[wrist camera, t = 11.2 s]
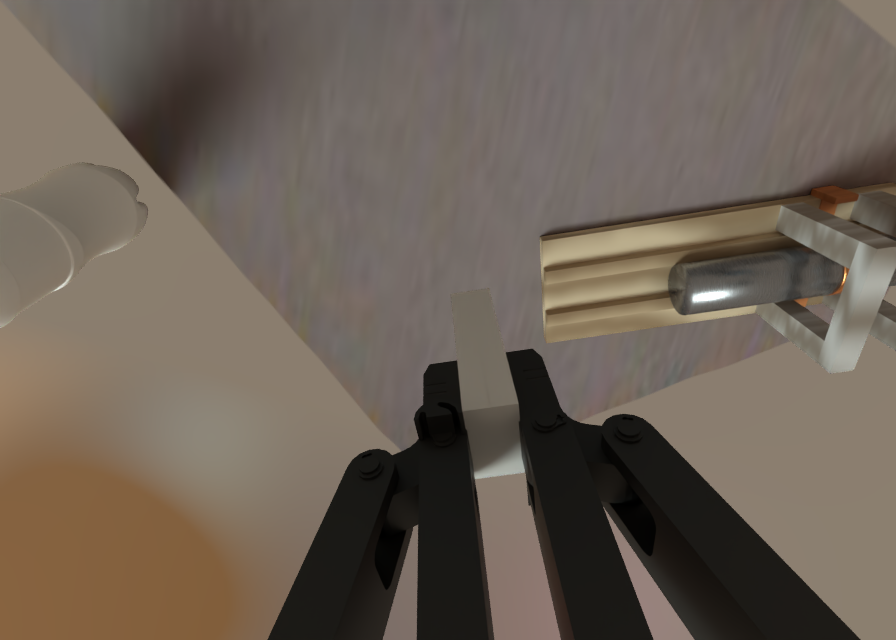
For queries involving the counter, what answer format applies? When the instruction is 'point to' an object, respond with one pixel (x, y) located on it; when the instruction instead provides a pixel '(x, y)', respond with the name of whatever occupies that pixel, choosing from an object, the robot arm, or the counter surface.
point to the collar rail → (721, 235)
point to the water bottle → (62, 230)
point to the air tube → (755, 279)
